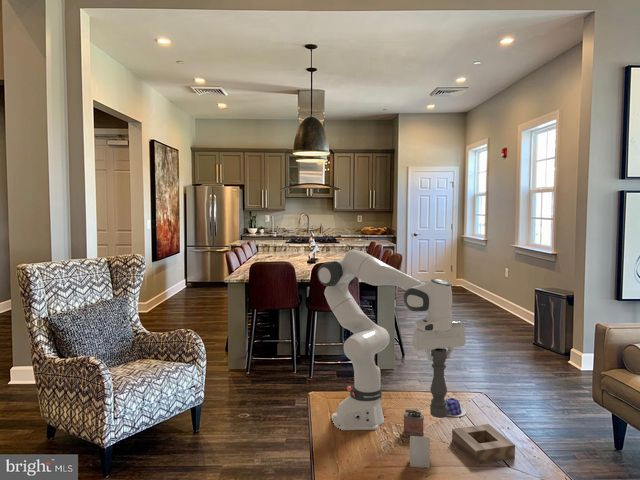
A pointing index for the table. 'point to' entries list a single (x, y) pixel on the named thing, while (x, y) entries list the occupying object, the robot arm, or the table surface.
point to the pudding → (454, 407)
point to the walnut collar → (483, 444)
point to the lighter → (413, 423)
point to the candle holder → (438, 384)
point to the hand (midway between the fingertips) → (438, 359)
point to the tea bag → (419, 451)
